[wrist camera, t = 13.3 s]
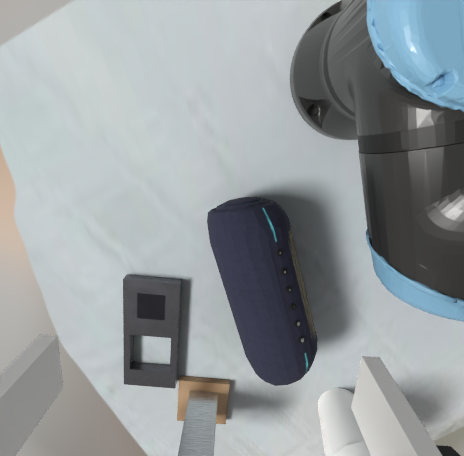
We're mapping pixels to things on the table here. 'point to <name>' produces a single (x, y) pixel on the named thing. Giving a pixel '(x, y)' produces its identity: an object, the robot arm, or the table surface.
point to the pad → (207, 386)
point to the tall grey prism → (199, 424)
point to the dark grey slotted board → (151, 326)
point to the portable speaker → (264, 287)
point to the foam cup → (340, 425)
